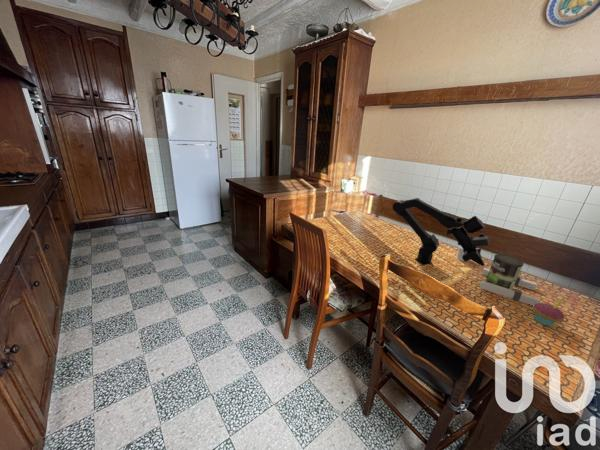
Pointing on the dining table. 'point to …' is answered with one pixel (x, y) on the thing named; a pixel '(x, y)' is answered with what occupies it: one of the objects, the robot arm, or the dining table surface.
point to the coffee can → (504, 271)
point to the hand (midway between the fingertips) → (483, 265)
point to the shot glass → (460, 253)
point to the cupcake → (548, 313)
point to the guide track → (509, 293)
